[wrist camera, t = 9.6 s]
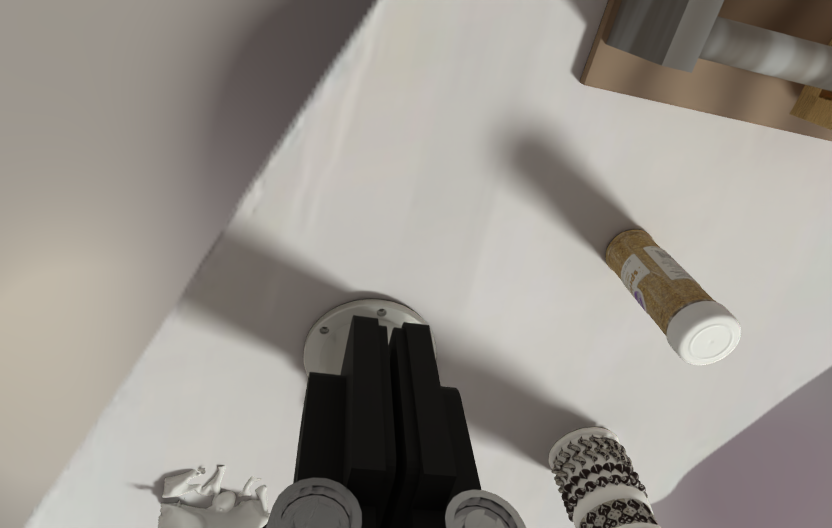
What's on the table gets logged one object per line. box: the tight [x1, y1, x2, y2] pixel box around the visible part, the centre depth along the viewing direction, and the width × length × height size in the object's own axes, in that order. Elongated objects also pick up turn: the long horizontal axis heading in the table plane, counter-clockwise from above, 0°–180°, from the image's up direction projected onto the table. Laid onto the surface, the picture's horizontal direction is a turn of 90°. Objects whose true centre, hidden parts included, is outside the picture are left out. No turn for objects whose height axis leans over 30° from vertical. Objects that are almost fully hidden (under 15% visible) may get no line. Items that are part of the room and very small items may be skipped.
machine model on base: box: [580, 0, 832, 141], centre depth 37 cm, size 26×10×9 cm, turn 77°
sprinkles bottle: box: [606, 230, 741, 365], centre depth 43 cm, size 5×5×14 cm
